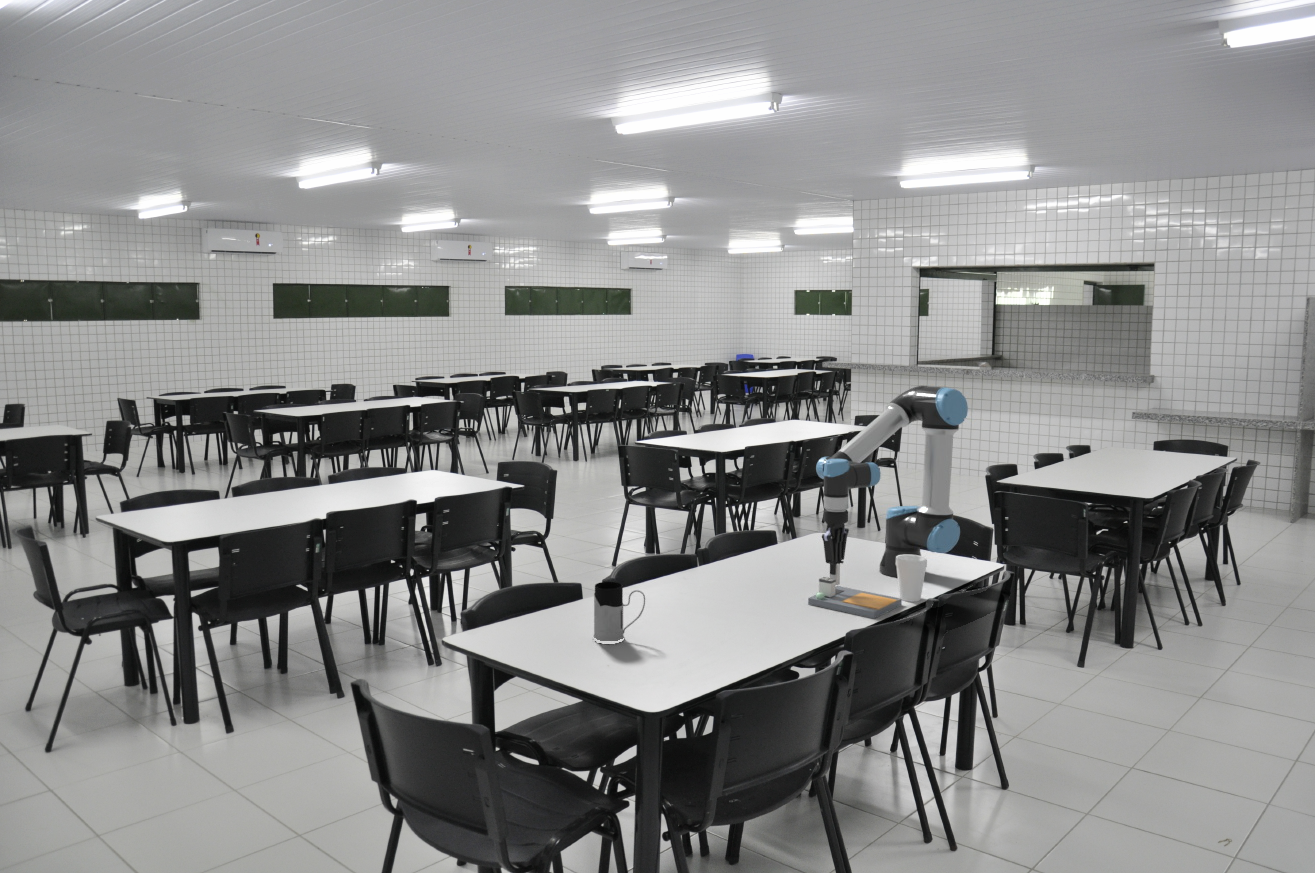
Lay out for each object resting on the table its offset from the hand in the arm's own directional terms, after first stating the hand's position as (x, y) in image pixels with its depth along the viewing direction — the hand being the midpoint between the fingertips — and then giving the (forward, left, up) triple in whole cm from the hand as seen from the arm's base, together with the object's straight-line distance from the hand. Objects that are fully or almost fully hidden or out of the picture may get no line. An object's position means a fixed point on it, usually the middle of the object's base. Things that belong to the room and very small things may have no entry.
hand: (834, 583), depth 300 cm
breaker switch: (+4, 0, -3) cm, 5 cm away
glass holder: (+72, -25, -5) cm, 77 cm away
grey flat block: (+1, +8, -5) cm, 9 cm away
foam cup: (-16, +18, -5) cm, 24 cm away
